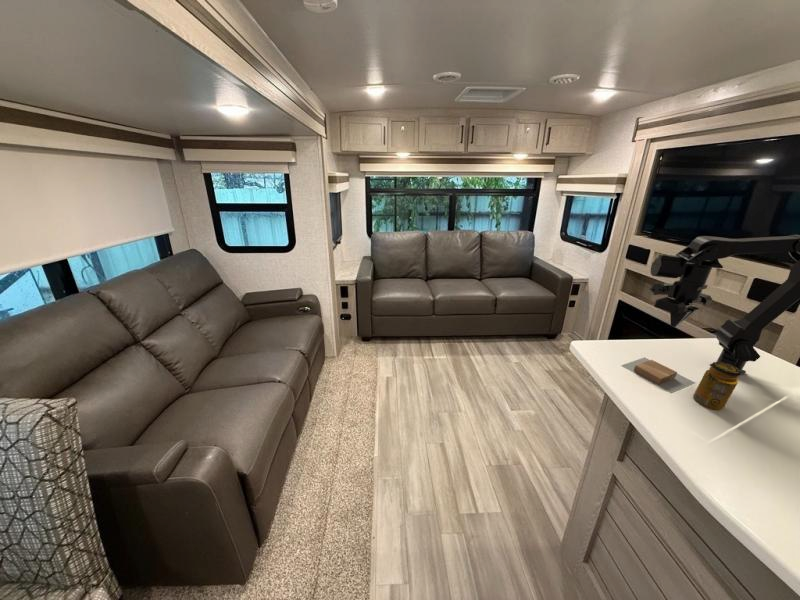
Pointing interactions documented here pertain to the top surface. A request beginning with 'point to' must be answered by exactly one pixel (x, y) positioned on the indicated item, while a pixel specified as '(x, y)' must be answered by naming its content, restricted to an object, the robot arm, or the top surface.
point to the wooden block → (655, 371)
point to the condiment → (717, 385)
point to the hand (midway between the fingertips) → (673, 326)
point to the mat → (669, 385)
